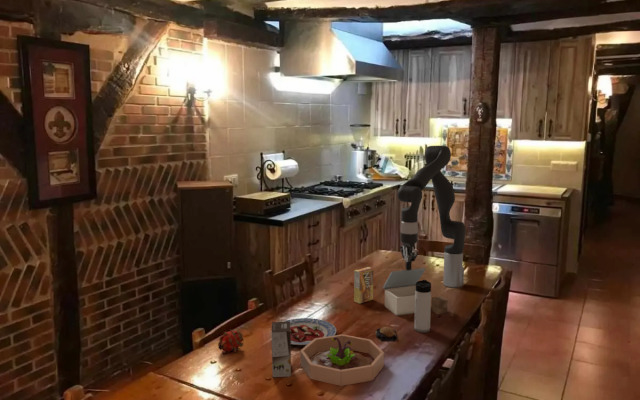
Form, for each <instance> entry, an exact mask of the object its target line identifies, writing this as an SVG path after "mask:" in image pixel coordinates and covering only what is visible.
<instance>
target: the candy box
mask: <svg viewBox="0 0 640 400" xmlns="http://www.w3.org/2000/svg"><path fill="white" fill-rule="evenodd" d="M353 272H354V276H353V277H354V283H353V285H354V286H353V287H354V288H353V289H354V290H353V293H354V294H353V301H354V302H355V303H357V304H363V303H366V302H369V301H372V300H374V268H372V267H370V266H367V267H362V268H359V269H354V271H353Z"/></svg>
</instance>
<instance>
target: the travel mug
mask: <svg viewBox="0 0 640 400" xmlns="http://www.w3.org/2000/svg"><path fill="white" fill-rule="evenodd" d="M431 305H432V282H430V281H428V280H426V279H422V280H419V281H418V282H416V289H415V313H414V326H413V327H414V330H415V331H416V332H418V333H429V332H430V331H431V312H432V310H431Z"/></svg>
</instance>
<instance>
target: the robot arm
mask: <svg viewBox="0 0 640 400" xmlns="http://www.w3.org/2000/svg"><path fill="white" fill-rule="evenodd" d="M451 158H452V153H451V149H450V148H449V146H446V145H428V146H427V147H425V149H424V159H425V163H426V165H424V166H423V167H421V168H419V169H418V170H417V171H416V172H415V173H414V174H413V176H412V178H411V179H409V180H408V181H406V182H404V183H403V184H402V185H401V186H400V187H399V188H398V190H397V198H398V200H399V201H401V202H403V203H411V205H410V206H407V207H402V208H401V215H400V217H401V218H400V233H399V234H400V235H399V236H400V237H399V239H400V242H401V243H402V245H401V246H399V250H400V253H401V256H402V259H403V260H404V261H405V263H404V264H405V270H411V269H412V262H415V261H416V259H417V257H418V256H419V252H418V251H416V243H418V241H419V240H418V238H419V237H418V236H419V235H418V234H419V224H418V220H419V218H418V217H419V216H418V213H419V210H420V205H421V201H422V199H423V190H424V189H425V188H426V187H427V185H428V184H429V182H430V181H431V182H432V187H433V192H434V197H435V201H436V204H437V209H438V215H439V223H440V231H441V234H442V236H443V237H444V238H446V239H451V240H453V243H451V244H446V245H445V246H444V251H443V252H444V253H443V254H444V255H443V278H442V279H443V280H442V281H443V286H445V287H447V288H460V287H462V286H464V285H465V284H464V283H465V282H464V281H465V280H464V278H465V267H464V266H463V263H464V261H463V259H464V249H465V239H466V229H467V228H466V225H465V223H464V222H462V221H459V220H453V219H451V215H450V213H451V210H452V208H453V206H454V203H455V202H456V201H455V200H456V195H455V190H454V186H453V184H452V183H451V182H450V180H449V179H448V178H447V177H446V176H445V175H444V173H442V171H441V170H443V169H444V168H445V167H446V166H447V165H448V164H449V163H450V160H451Z"/></svg>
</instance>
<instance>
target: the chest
mask: <svg viewBox="0 0 640 400" xmlns="http://www.w3.org/2000/svg"><path fill="white" fill-rule="evenodd" d="M415 289H416V286H408V287H400V288H392V289H384V307H385V308H386V309H387V310H389V311H390V312H391V313H393V314H394V315H395V316H402V315H403V316H405V315H411V314H415Z"/></svg>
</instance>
